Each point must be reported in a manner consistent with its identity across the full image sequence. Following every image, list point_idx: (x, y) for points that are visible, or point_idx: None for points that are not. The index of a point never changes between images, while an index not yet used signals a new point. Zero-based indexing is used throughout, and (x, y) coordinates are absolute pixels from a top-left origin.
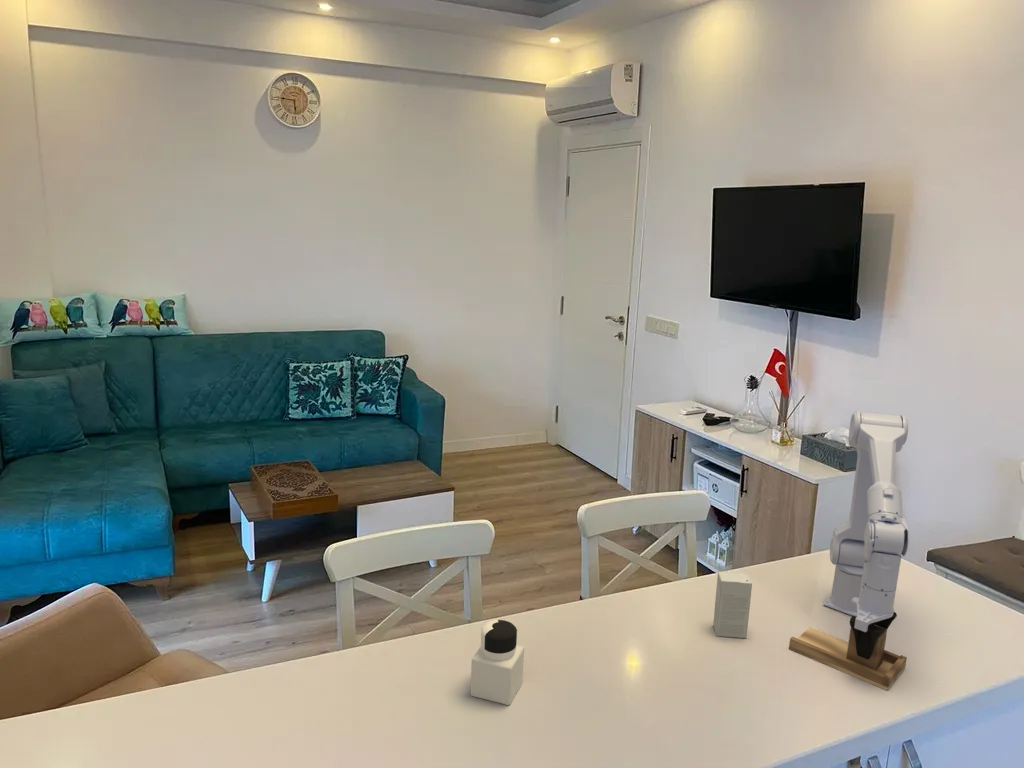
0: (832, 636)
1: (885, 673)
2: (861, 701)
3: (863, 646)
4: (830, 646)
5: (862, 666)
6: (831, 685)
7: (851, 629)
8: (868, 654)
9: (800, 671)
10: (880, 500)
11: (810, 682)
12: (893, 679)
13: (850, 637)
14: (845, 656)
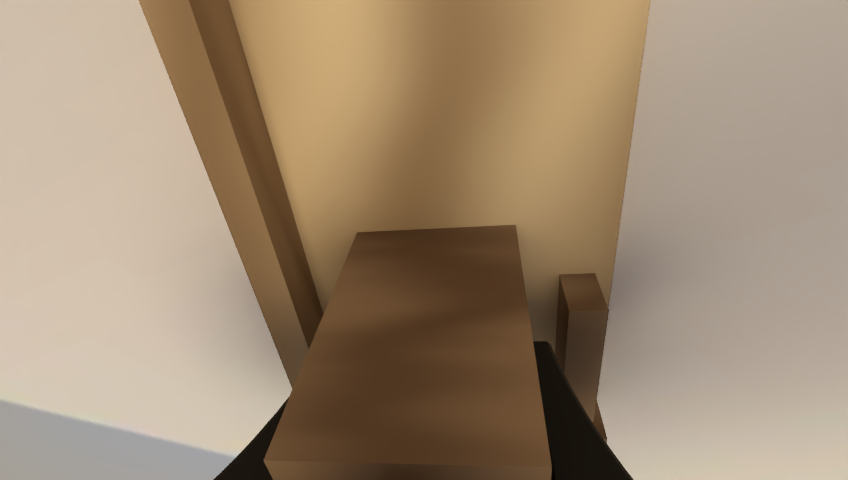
0: (642, 6)
1: None
2: (160, 363)
3: None
4: (454, 78)
5: (300, 359)
6: (115, 250)
7: (271, 451)
8: None
9: (19, 74)
10: None
11: (12, 170)
12: None
13: (305, 374)
14: (413, 207)
